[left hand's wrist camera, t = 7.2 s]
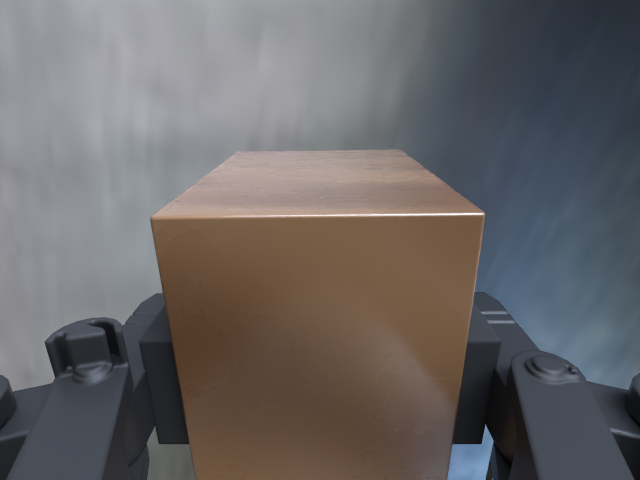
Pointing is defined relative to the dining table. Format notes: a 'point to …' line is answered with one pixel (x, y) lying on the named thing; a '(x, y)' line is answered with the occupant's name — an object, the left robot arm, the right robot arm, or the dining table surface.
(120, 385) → the left robot arm
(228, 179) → the beam
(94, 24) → the dining table surface
